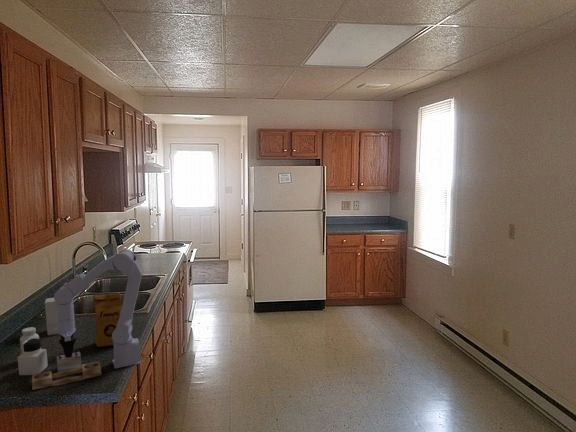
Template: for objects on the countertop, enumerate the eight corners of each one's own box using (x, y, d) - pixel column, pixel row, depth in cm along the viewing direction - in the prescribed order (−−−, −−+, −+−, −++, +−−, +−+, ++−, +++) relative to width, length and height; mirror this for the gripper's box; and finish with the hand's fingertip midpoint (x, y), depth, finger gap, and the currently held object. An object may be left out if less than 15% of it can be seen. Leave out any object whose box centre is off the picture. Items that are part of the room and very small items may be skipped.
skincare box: (62, 333, 205) (60, 300, 203) (46, 336, 202) (43, 302, 200) (64, 327, 212) (62, 296, 211) (48, 329, 210) (46, 297, 208)
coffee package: (126, 346, 190) (123, 295, 187) (94, 350, 186) (91, 298, 184) (127, 337, 199) (124, 289, 197) (96, 341, 195) (93, 292, 193)
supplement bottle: (44, 356, 180) (41, 326, 179) (35, 363, 174) (33, 332, 172) (27, 357, 180) (24, 326, 179) (18, 364, 173) (15, 332, 172)
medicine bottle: (48, 366, 171) (45, 336, 170) (38, 375, 164) (35, 343, 163) (29, 366, 171) (26, 336, 170) (18, 375, 164) (16, 344, 163)
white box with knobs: (80, 363, 173) (79, 350, 173) (81, 367, 170) (80, 353, 169) (57, 368, 170) (56, 354, 169) (57, 372, 166) (56, 358, 166)
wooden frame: (99, 367, 169) (98, 359, 169) (101, 375, 163) (101, 367, 163) (33, 381, 159) (32, 372, 159) (32, 390, 153) (31, 381, 152)
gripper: (53, 314, 172) (56, 348, 174) (54, 326, 159) (56, 362, 161) (73, 311, 175) (76, 344, 177) (76, 322, 163) (78, 358, 164)
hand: (68, 352), depth 169 cm, fingers open, 7 cm apart
